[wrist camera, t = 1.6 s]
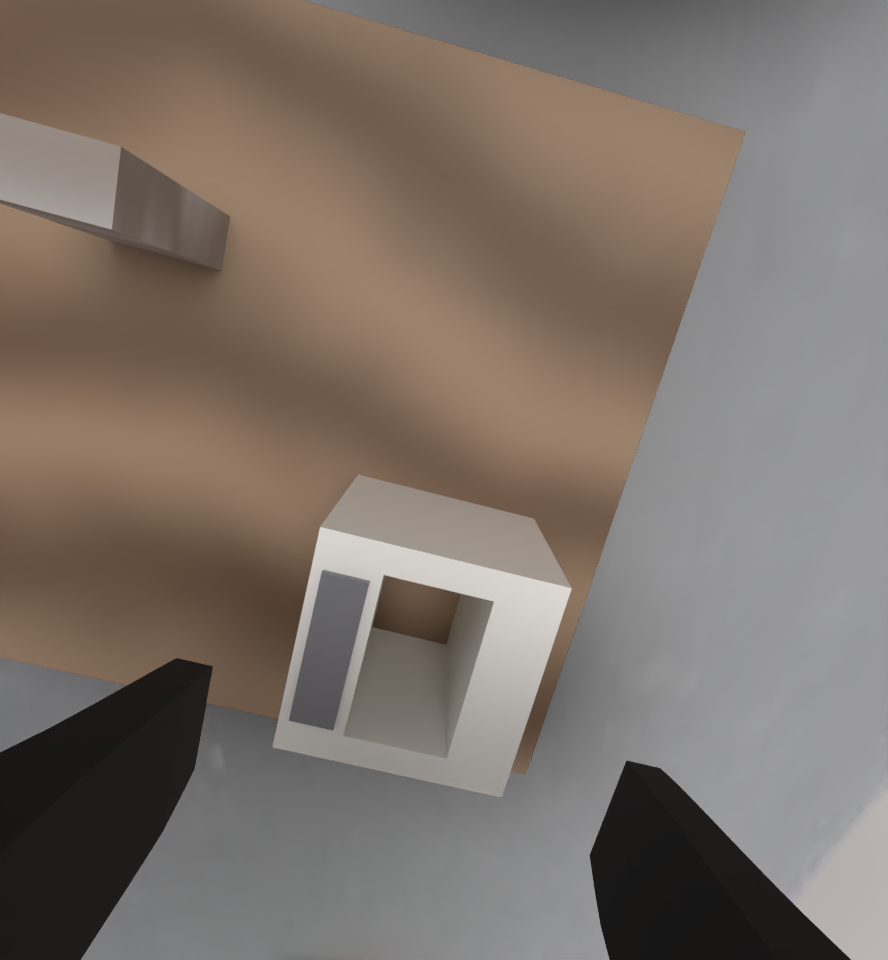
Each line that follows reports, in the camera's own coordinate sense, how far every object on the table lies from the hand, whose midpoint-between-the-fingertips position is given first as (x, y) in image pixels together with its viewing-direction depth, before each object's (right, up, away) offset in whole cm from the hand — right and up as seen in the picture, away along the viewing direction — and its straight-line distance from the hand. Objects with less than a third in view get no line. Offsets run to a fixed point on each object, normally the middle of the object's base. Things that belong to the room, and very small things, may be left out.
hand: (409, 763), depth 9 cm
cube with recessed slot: (0, +2, +8) cm, 8 cm away
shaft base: (-4, +7, +8) cm, 11 cm away
